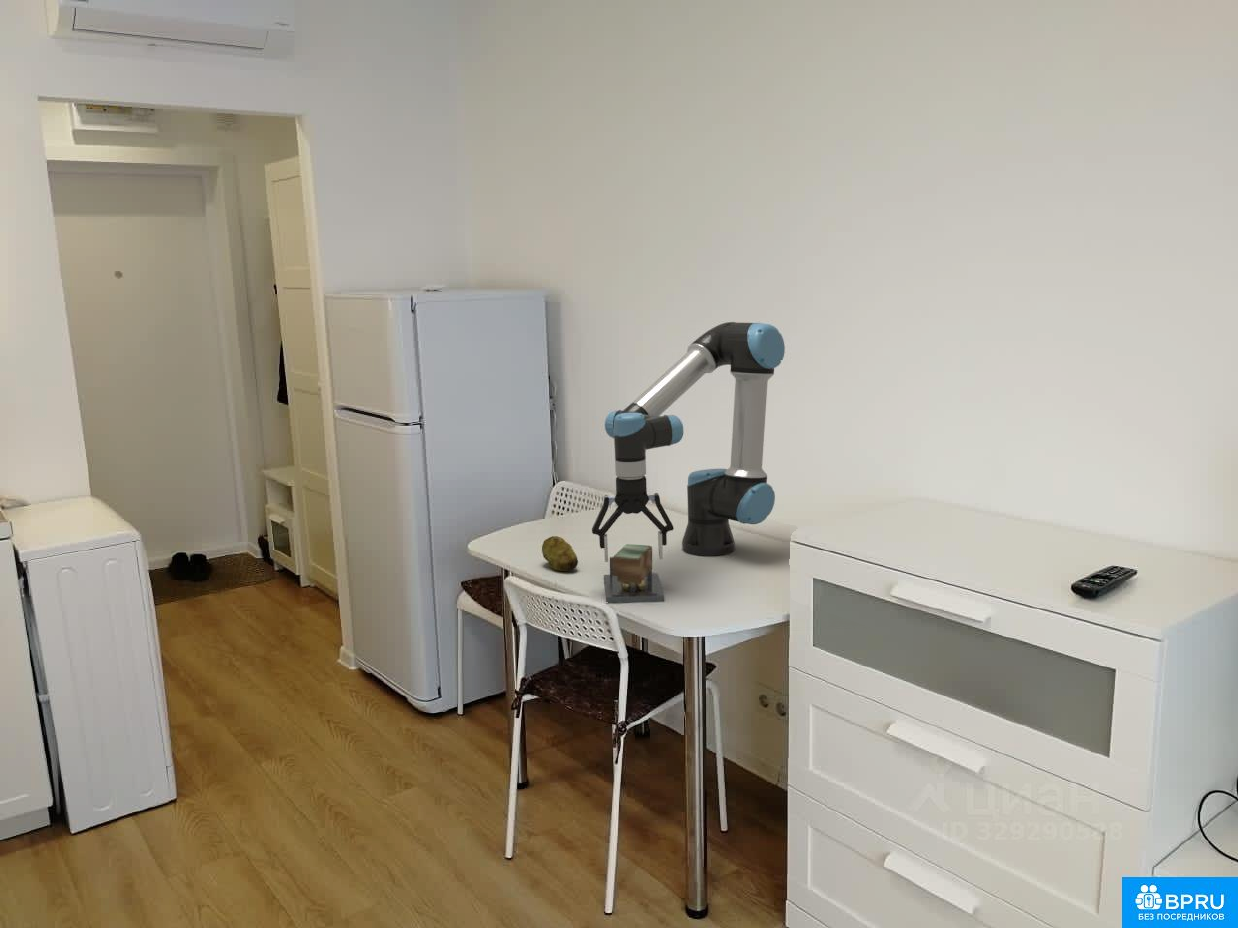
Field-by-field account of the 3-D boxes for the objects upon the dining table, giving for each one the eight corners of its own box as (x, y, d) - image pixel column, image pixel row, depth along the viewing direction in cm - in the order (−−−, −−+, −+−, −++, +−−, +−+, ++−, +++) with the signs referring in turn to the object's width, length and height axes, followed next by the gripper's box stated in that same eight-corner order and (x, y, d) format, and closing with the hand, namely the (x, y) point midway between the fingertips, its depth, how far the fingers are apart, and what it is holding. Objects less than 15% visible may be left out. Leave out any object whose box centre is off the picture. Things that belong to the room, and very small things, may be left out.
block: (626, 567, 251) (625, 543, 250) (652, 569, 249) (652, 545, 248) (612, 581, 240) (611, 556, 239) (639, 583, 238) (639, 558, 237)
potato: (549, 576, 258) (548, 547, 257) (540, 562, 271) (539, 534, 269) (580, 572, 261) (579, 544, 259) (569, 559, 273) (568, 532, 271)
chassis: (603, 580, 254) (603, 556, 252) (657, 578, 254) (657, 554, 253) (606, 603, 236) (605, 577, 235) (664, 601, 237) (663, 575, 235)
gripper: (679, 470, 244) (681, 552, 248) (580, 475, 243) (583, 556, 247) (683, 477, 236) (685, 561, 241) (580, 481, 235) (584, 565, 240)
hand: (633, 559), depth 244 cm, fingers open, 13 cm apart
